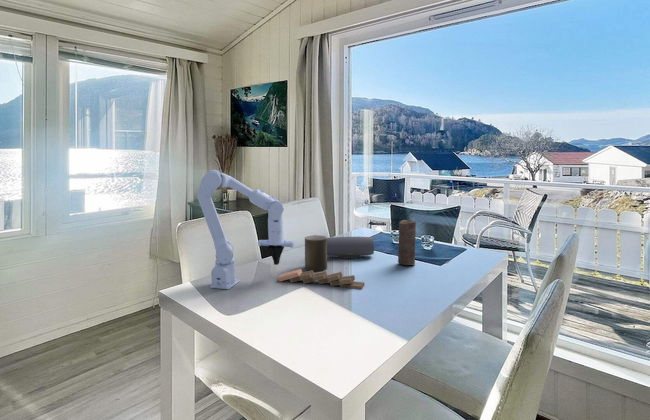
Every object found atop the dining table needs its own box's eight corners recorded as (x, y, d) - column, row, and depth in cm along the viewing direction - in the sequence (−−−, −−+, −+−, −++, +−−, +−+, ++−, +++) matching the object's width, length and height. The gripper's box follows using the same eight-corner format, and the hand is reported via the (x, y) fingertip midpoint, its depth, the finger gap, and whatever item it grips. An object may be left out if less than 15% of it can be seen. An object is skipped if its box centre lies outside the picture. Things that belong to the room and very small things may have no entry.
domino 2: (290, 282, 146) (310, 277, 144) (289, 278, 146) (309, 273, 144) (294, 278, 151) (314, 273, 149) (293, 274, 151) (312, 270, 148)
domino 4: (319, 284, 144) (339, 279, 141) (317, 280, 144) (337, 275, 141) (323, 280, 148) (342, 275, 145) (321, 276, 148) (341, 271, 145)
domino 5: (330, 285, 142) (351, 283, 139) (329, 282, 142) (350, 279, 139) (335, 281, 147) (355, 279, 143) (334, 277, 146) (354, 275, 143)
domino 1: (279, 281, 148) (298, 276, 145) (278, 277, 147) (297, 272, 145) (283, 277, 152) (302, 272, 150) (282, 273, 152) (300, 268, 150)
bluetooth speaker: (371, 253, 184) (371, 234, 182) (374, 259, 175) (374, 238, 173) (324, 254, 183) (324, 234, 182) (325, 260, 174) (325, 239, 173)
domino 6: (339, 288, 142) (362, 290, 139) (339, 284, 141) (362, 286, 139) (342, 284, 146) (364, 286, 143) (342, 280, 146) (364, 282, 143)
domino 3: (304, 283, 145) (324, 279, 143) (302, 279, 145) (323, 275, 143) (307, 279, 149) (327, 275, 147) (306, 275, 149) (325, 271, 147)
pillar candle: (324, 272, 158) (324, 237, 156) (302, 270, 160) (301, 236, 157) (329, 265, 167) (329, 232, 165) (307, 264, 169) (307, 231, 167)
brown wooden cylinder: (410, 268, 162) (411, 222, 158) (394, 265, 166) (395, 220, 163) (417, 263, 168) (419, 220, 164) (402, 261, 172) (403, 218, 169)
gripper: (296, 229, 149) (297, 262, 151) (262, 227, 152) (263, 259, 155) (290, 233, 142) (291, 267, 144) (255, 231, 146) (256, 265, 148)
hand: (276, 263), depth 149 cm, fingers closed
